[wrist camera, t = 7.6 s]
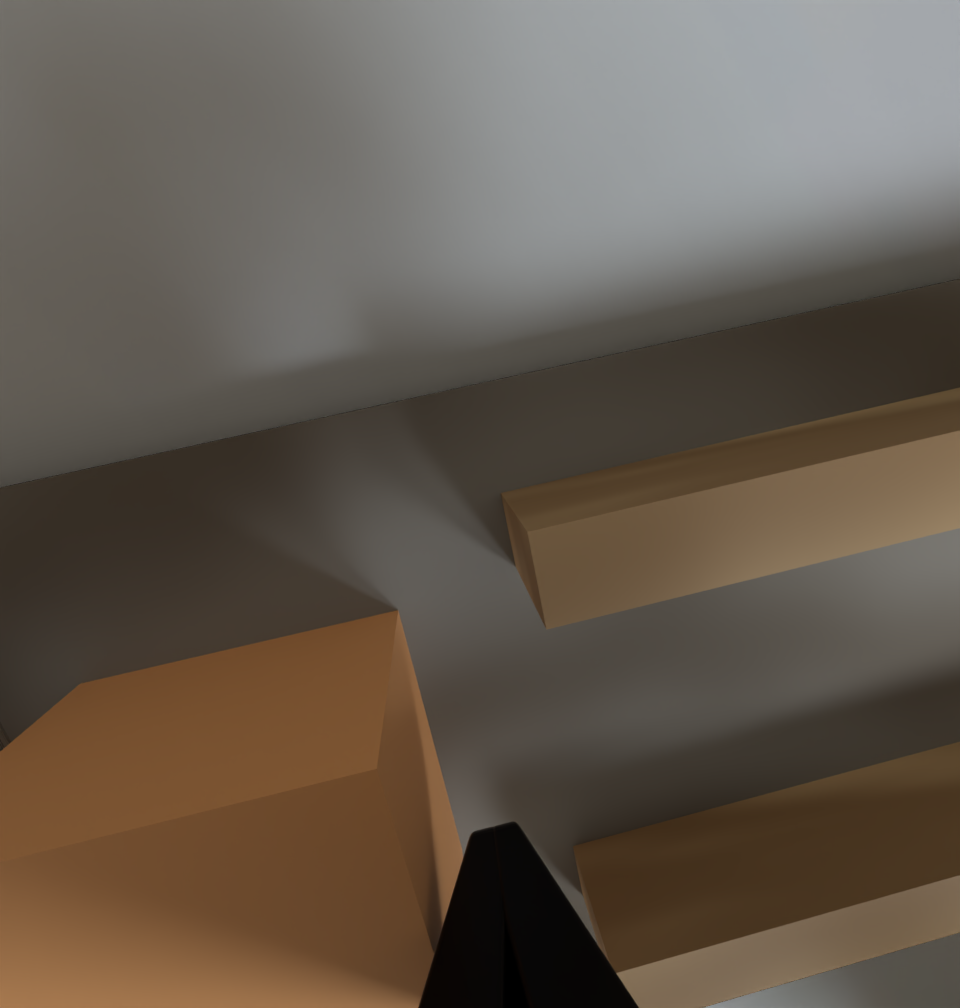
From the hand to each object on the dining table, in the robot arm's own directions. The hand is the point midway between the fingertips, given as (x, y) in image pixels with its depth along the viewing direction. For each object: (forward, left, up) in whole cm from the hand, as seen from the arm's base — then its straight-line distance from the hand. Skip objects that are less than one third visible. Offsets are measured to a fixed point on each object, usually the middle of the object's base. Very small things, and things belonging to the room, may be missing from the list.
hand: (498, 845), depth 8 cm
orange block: (0, +4, -3) cm, 5 cm away
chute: (0, -6, -3) cm, 7 cm away
